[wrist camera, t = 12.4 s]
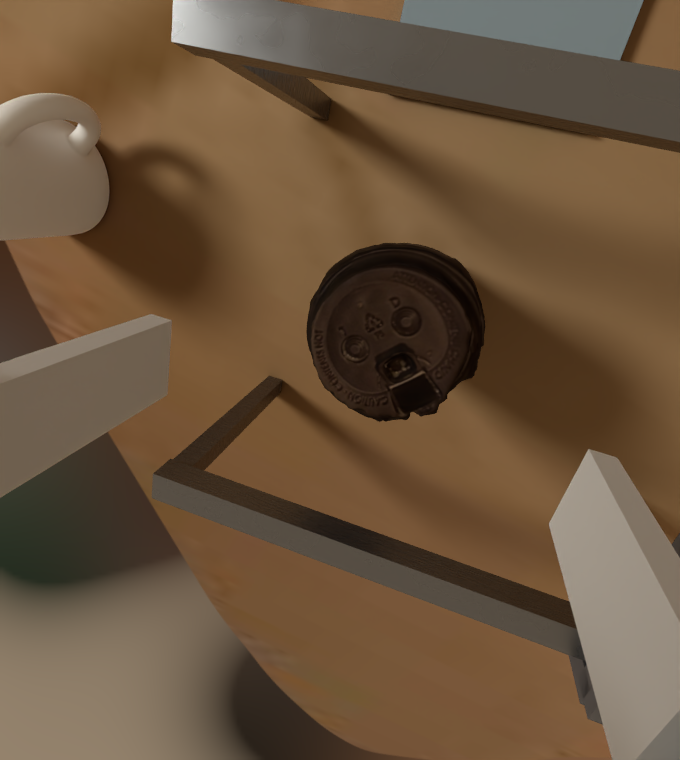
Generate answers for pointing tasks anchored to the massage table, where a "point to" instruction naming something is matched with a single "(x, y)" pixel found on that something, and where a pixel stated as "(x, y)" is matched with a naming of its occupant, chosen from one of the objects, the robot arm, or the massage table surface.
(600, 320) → the massage table surface
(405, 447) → the massage table surface
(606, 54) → the mat
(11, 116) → the mug
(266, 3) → the frame
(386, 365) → the coffee cup
